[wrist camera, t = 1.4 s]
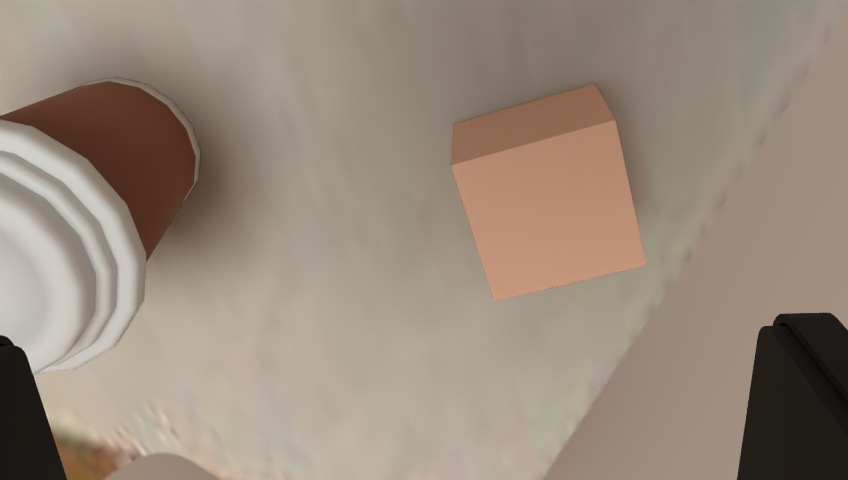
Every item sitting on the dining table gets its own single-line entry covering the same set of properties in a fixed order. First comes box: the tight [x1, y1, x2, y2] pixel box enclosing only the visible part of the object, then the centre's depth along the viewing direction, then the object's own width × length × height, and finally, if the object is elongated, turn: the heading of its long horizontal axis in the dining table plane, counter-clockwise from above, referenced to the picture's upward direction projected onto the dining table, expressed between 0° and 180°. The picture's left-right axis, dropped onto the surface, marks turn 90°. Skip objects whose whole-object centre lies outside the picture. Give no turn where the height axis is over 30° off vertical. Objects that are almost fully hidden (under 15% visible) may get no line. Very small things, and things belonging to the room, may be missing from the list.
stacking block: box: [451, 83, 646, 302], centre depth 30 cm, size 6×6×5 cm
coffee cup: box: [0, 77, 201, 375], centre depth 28 cm, size 9×9×12 cm
